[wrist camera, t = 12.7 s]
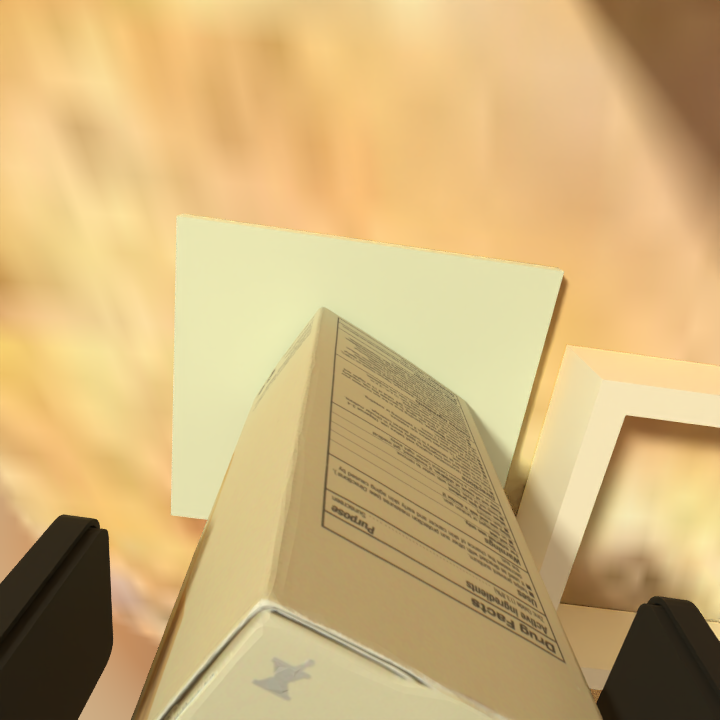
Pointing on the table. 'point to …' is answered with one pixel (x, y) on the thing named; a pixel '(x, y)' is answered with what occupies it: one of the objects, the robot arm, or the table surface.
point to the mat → (359, 307)
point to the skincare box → (362, 562)
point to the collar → (599, 472)
